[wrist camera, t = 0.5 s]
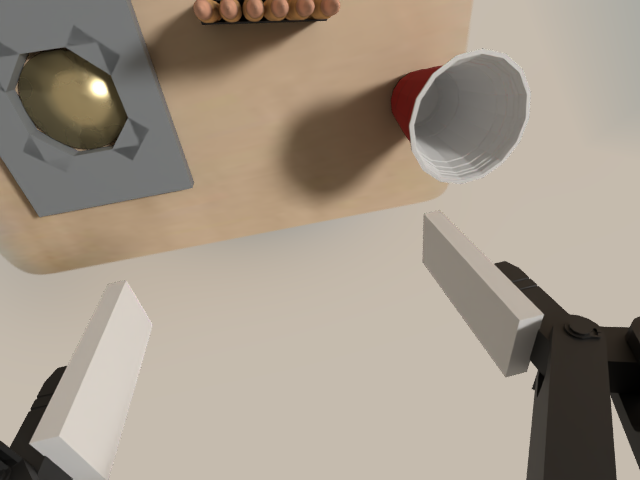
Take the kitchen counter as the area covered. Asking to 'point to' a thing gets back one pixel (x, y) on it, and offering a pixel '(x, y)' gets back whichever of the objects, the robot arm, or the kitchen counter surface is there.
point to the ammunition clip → (263, 11)
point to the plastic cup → (463, 114)
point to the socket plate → (83, 107)
